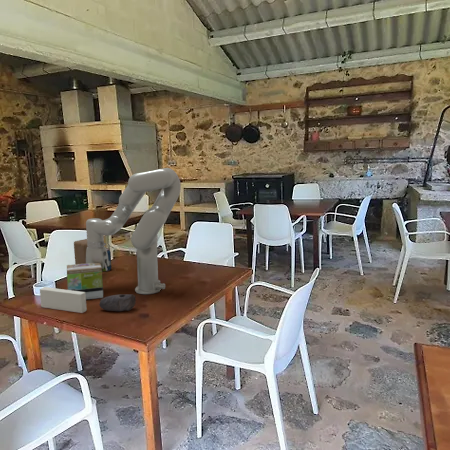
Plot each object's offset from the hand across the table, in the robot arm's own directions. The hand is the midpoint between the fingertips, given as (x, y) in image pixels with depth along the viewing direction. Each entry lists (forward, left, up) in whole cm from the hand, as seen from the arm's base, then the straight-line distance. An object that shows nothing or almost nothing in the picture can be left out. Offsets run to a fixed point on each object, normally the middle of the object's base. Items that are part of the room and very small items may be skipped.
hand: (98, 281), depth 191 cm
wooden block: (+17, -15, -4) cm, 23 cm away
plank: (0, +24, -4) cm, 25 cm away
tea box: (0, +9, -4) cm, 10 cm away
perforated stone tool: (-23, +19, -5) cm, 30 cm away
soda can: (+17, -29, -4) cm, 34 cm away
